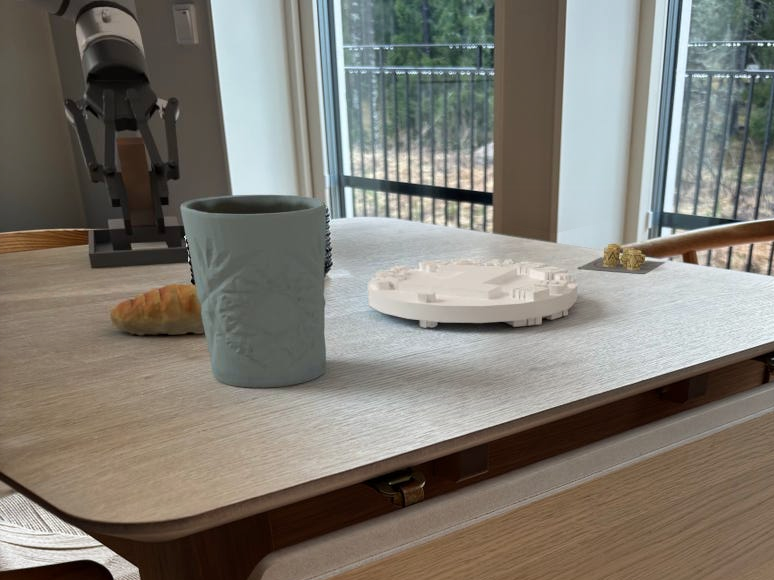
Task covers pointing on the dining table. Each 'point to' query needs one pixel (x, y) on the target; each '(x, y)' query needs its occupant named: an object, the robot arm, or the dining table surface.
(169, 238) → the brown grey t-shaped piece
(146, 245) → the beige square block
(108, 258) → the tray
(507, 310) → the white round plaque
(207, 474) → the dining table surface
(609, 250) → the dice set
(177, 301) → the pastry
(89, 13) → the robot arm
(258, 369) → the grey-green embossed cup
